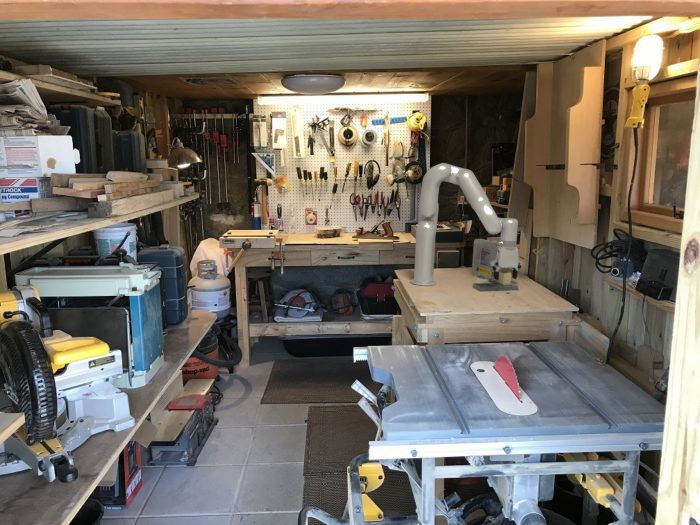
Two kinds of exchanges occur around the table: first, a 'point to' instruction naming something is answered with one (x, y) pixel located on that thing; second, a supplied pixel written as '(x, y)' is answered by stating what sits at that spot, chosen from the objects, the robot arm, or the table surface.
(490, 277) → the network device
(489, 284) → the grey flat plate
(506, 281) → the brass block
